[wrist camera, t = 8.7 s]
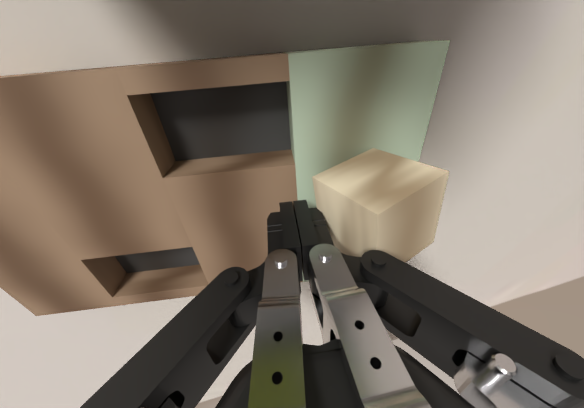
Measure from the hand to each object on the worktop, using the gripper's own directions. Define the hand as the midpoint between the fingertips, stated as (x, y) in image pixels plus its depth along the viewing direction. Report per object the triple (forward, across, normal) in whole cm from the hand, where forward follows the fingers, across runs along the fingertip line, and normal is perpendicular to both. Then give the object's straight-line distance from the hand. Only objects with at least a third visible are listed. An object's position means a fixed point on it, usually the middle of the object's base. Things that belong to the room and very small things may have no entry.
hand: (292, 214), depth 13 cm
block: (0, -3, -1) cm, 3 cm away
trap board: (+4, +6, 0) cm, 7 cm away
